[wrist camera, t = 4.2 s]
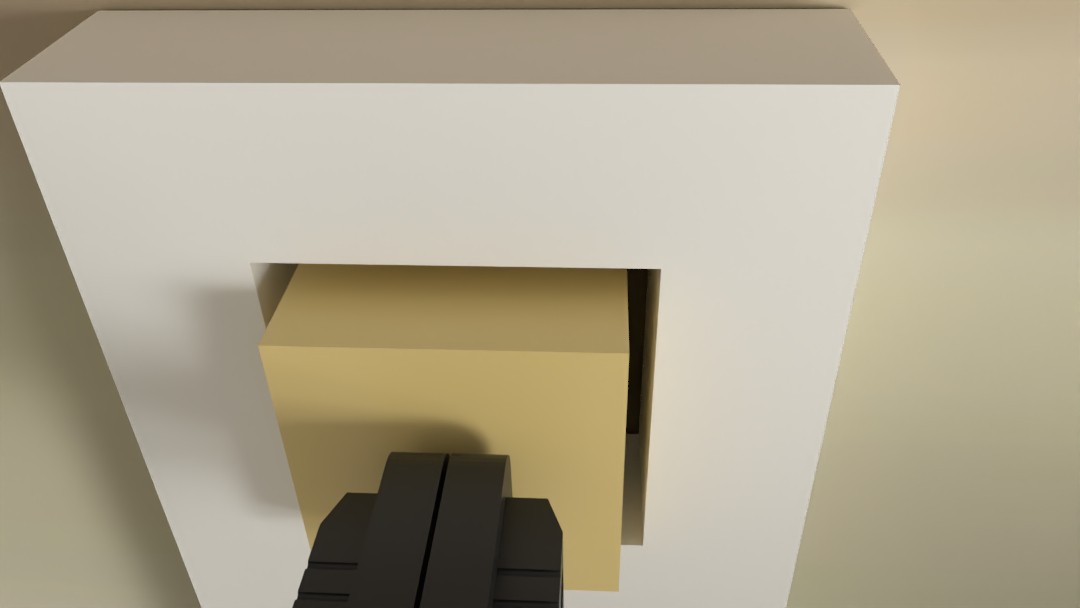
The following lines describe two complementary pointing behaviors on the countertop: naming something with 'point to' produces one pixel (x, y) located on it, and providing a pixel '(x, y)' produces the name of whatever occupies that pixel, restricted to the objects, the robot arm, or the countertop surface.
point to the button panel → (473, 239)
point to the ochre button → (459, 386)
